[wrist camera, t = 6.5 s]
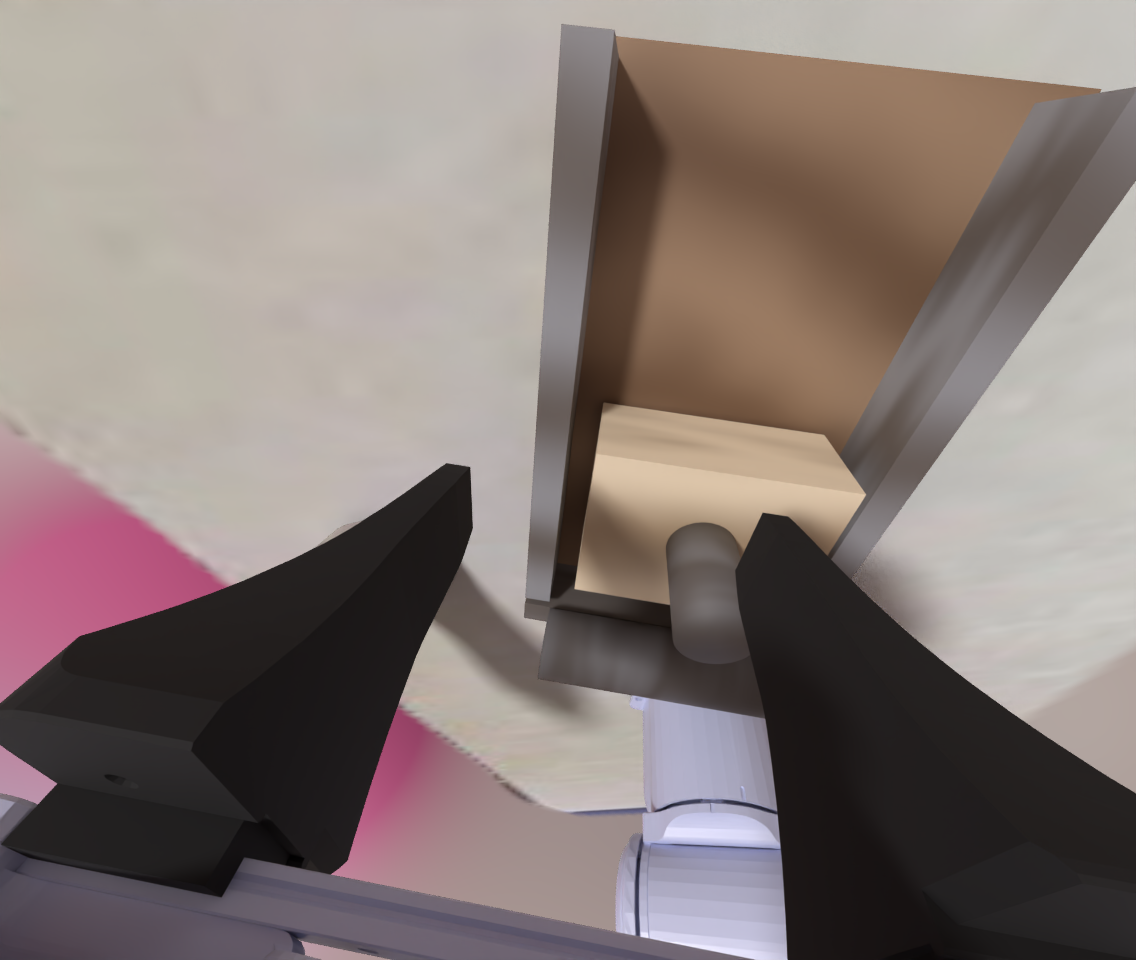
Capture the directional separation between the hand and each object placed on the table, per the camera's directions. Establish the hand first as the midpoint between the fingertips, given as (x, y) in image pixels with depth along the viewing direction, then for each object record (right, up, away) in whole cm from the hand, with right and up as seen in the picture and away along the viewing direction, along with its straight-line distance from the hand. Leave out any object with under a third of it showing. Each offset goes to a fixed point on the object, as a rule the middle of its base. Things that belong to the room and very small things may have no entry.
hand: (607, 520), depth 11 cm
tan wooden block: (+5, +1, +9) cm, 10 cm away
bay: (+5, +4, +8) cm, 10 cm away
